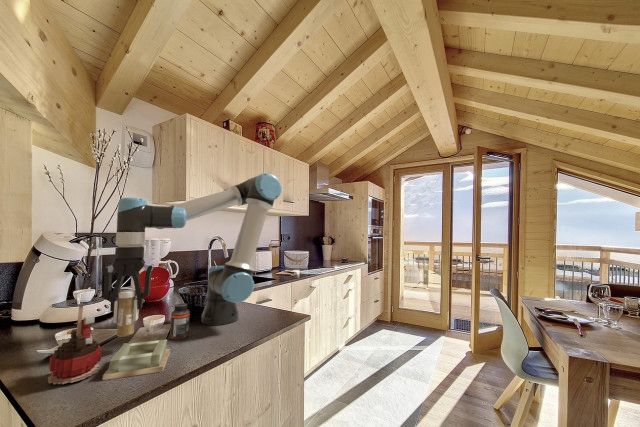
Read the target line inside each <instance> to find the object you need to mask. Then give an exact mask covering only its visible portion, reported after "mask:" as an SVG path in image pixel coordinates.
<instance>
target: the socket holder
mask: <svg viewBox="0 0 640 427" xmlns="http://www.w3.org/2000/svg"><path fill="white" fill-rule="evenodd" d="M167 343H168V339H160V340H151V341H150V340H149V341H142V342H133V343H124V344H123V345H122V346H121V347H120V348H119V350H118V351H116V353H115V354H114V355H113V357H112V358H111V359H110V360H109V366H108V369H107V370H105V372H104V373H103V374H102V381H107V380H113V379H114V380H115V379H121V378H127V377H128V378H129V377H133V376H134V377H135V376H140V375H147V374H153V373H161V372H163V371H164V369H165V366H166V364H167V361H168V358H169V356H170V354H171V348H167V346H168V344H167Z"/></svg>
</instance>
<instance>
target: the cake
mask: <svg viewBox="0 0 640 427" xmlns="http://www.w3.org/2000/svg"><path fill="white" fill-rule="evenodd" d="M83 310H84V303H79V305H78V316H77V326H76V328H74V329H71V331H70V338H69V339H68V341H66V342H62V344H61V345H60V346H58V347H57V349H55V350H54V353H53V355H52V356H49V362H48V363H49V364H48V369H49V372H50V373H51V372H52V373H51V374H50V375H49V376H47V381H48V384H53V385H64V384H67V383H70V384H71V383H74V382H76V383H77V382H78V381H81V380H85V379H86V378H89V377H91V376H93V375H94V374H96V373H98V370H100V364H98V362H101V360H102V353H103V352H102V347H101V346H100V343H99V342H98V341H97V340H95V339H94V338H93V336H92V334H91V333H92V332H91V330H92V329H91V328H92V327H91V326H92V324H94V323H95V315H90V316H85V317H83Z"/></svg>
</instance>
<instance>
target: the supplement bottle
mask: <svg viewBox="0 0 640 427" xmlns="http://www.w3.org/2000/svg"><path fill="white" fill-rule="evenodd" d="M190 315H191V311H190V310H189V309H188V303H184V302H180V303H177V304H174V309H173V311H171V314H170V328H169V329H170V330H169V331H170V332H169V338H170V339H171V340H173V341H174V340H176V341H177V340H178V341H179V340H183V339H185V338H187V337H188V336H189V333H190V318H191V317H190Z"/></svg>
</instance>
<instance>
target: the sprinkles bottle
mask: <svg viewBox="0 0 640 427" xmlns="http://www.w3.org/2000/svg"><path fill="white" fill-rule="evenodd" d="M136 298H137V295H136V291H135V289H124V290H120V292H119V296H118V299H119V308H118V320H117V323H116V325H117V326H116V327H117V328H116V336H117V337H121V338H123V337H129V336H131V335H133V334H134V333H135V321H133V311H134V300H135V299H136Z"/></svg>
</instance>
